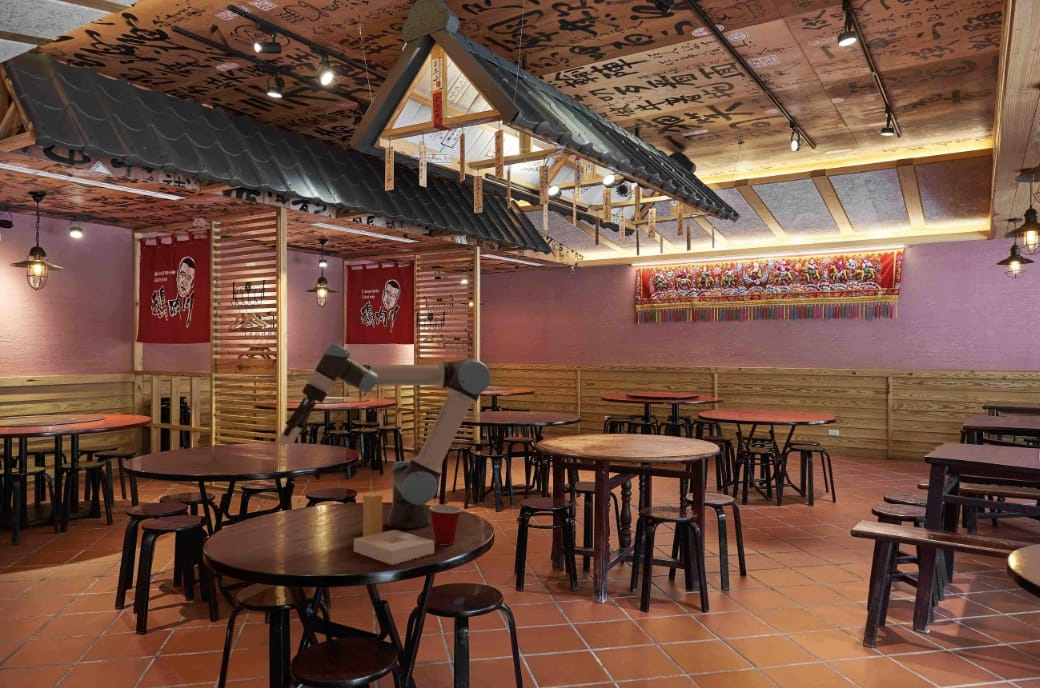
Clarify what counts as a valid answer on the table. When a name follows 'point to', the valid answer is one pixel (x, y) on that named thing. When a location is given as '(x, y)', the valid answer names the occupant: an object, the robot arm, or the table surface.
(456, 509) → the plastic cup
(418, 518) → the robot arm
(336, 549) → the table surface
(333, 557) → the table surface
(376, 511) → the plug block
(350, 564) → the table surface
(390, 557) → the socket plate
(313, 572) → the table surface
